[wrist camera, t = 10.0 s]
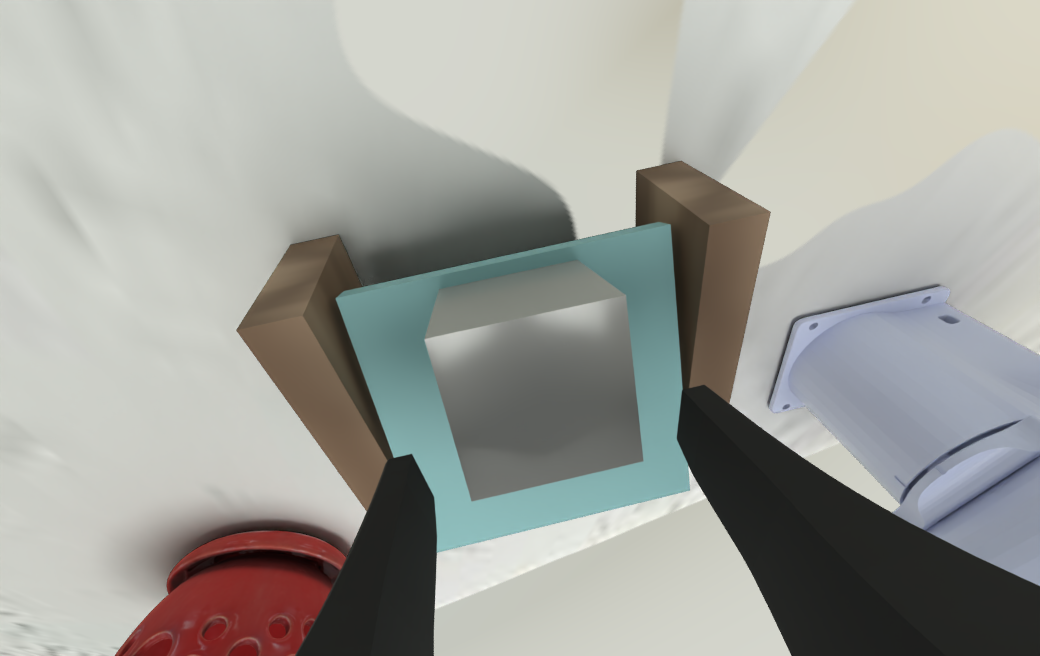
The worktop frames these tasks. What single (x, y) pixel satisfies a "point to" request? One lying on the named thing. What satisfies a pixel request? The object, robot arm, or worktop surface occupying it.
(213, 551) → the plant pot
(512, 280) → the granite block
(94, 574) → the worktop surface
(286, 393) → the hatch stand
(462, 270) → the hatch flap
